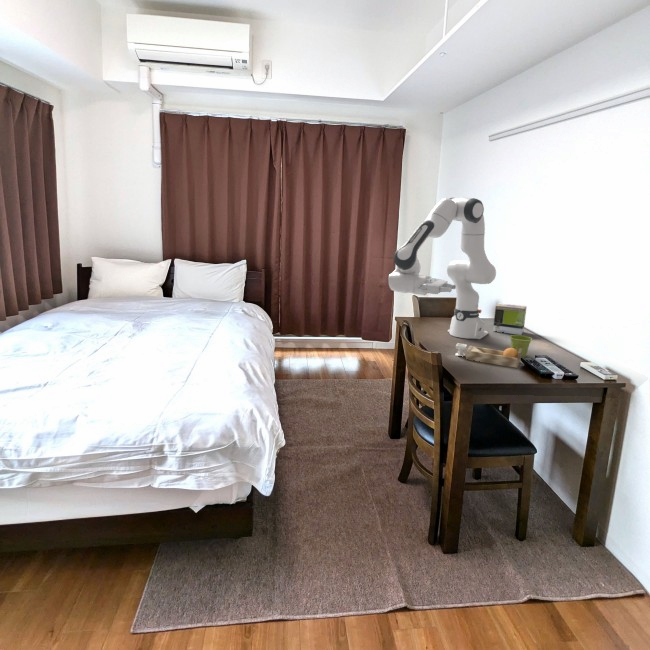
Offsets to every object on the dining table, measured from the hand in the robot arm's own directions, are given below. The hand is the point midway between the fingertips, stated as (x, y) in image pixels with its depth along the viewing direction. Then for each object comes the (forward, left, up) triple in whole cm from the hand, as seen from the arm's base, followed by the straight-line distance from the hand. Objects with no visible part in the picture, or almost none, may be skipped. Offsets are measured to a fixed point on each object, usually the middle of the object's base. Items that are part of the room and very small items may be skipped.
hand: (453, 288), depth 212 cm
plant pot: (-24, +23, -30) cm, 45 cm away
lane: (-7, +19, -30) cm, 36 cm away
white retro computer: (-64, -1, -30) cm, 71 cm away
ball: (-10, +27, -28) cm, 40 cm away
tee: (-2, +6, -30) cm, 31 cm away
